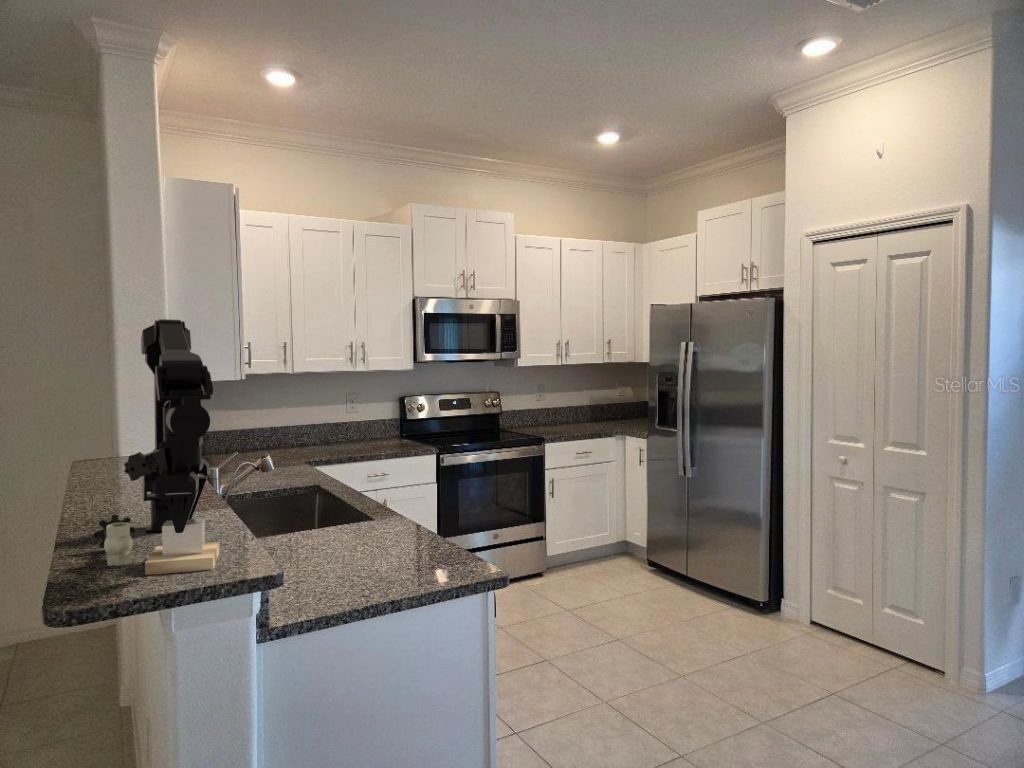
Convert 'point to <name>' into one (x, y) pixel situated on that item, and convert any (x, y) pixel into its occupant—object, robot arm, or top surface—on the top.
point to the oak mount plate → (182, 561)
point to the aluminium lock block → (183, 538)
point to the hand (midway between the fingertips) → (183, 526)
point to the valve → (116, 539)
